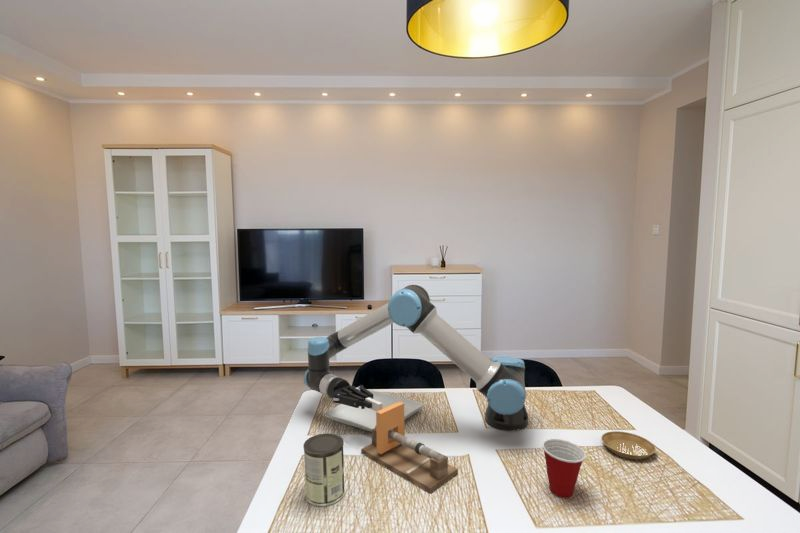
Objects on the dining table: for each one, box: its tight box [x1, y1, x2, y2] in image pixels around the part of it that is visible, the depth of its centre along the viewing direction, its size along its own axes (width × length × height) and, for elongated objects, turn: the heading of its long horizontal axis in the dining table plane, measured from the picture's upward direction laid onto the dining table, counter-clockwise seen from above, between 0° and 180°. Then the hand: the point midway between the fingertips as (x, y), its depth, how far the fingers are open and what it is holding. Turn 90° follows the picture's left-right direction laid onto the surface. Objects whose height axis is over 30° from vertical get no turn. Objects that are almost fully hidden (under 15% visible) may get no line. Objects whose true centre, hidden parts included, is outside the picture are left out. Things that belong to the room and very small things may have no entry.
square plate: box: [324, 389, 425, 433], centre depth 154 cm, size 27×27×4 cm
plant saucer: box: [601, 430, 656, 461], centre depth 130 cm, size 15×15×3 cm
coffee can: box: [303, 432, 346, 507], centre depth 109 cm, size 10×10×14 cm
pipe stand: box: [360, 426, 459, 494], centre depth 123 cm, size 28×12×8 cm, turn 46°
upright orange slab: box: [376, 402, 405, 454], centre depth 127 cm, size 2×10×12 cm, turn 135°
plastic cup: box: [541, 438, 587, 499], centre depth 109 cm, size 11×11×12 cm
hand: (380, 407), depth 130 cm, fingers closed
